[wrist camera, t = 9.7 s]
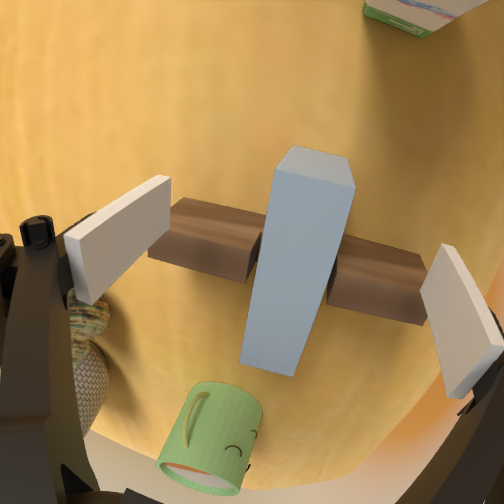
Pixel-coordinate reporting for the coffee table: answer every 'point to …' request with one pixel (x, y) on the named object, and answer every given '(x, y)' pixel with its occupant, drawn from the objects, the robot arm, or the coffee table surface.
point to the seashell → (85, 324)
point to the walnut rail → (248, 248)
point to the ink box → (418, 13)
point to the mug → (212, 439)
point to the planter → (91, 386)
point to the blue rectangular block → (296, 256)
